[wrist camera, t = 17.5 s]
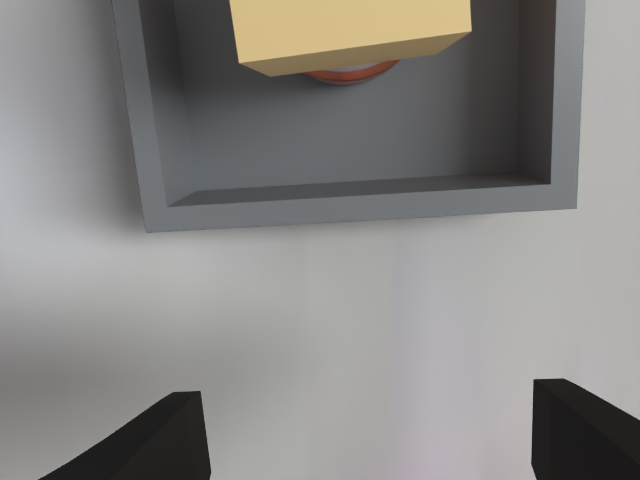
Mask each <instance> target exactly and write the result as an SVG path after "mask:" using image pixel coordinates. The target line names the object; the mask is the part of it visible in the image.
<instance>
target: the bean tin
mask: <svg viewBox="0 0 640 480" xmlns="http://www.w3.org/2000/svg"><path fill="white" fill-rule="evenodd" d="M400 60H401V59H399V60H392V61H385V62H377V63H370V64H362V65H355V66H347V67H340V68H332V69H325V70H318V71H310V72H303V73H304V74H306V75H307V76H309V77H311V78H313V79H315V80H317V81H320V82H323V83H327V84H332V85H356V84H361V83H364V82H368V81H370V80H373V79H375V78H377V77H379V76H381V75H382V74H384V73H386V72H387V71H388V70H390V69H391V68H392V67H394V66H395V65H396V64H397V63H398V62H399V61H400Z"/></svg>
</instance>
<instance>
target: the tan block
mask: <svg viewBox="0 0 640 480" xmlns="http://www.w3.org/2000/svg"><path fill="white" fill-rule="evenodd" d="M230 7H231V14H232V20H233V27H234V33H235V40H236V47H237V53H238V60H239V63H240V64H242V65H244V66H247V67H249V68H251V69H254V70H256V71H258V72H260V73H263V74H265V75H267V76H270V77H273V76H280V75H288V74H295V73H303V72H310V71H318V70H325V69H332V68H340V67H347V66H355V65H362V64H370V63H377V62H385V61H392V60H399V59H407V58H414V57H422V56H429V55H436V54H438V53H439V52H441V51H442V50H444V49H446V48H447V47H449V46H450V45H452V44H453V43H455V42H456V41H458V40H459V39H461V38H462V37H464V36H465V35H467V34H468V33H470V32H471V31H472V28H471V11H470V0H230Z"/></svg>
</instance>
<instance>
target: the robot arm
mask: <svg viewBox="0 0 640 480" xmlns="http://www.w3.org/2000/svg"><path fill="white" fill-rule="evenodd" d="M531 465H532V467H533V470H534V473H535V476H536V479H537V480H640V420H638V419H637V418H635V417H633V416H631V415H629V414H628V413H626V412H624V411H622V410H621V409H619V408H617V407H615V406H614V405H612V404H610V403H608V402H607V401H605V400H603V399H601V398H600V397H598V396H596V395H594V394H593V393H591V392H589V391H587V390H585V389H584V388H582V387H580V386H578V385H576V384H574V383H572V382H570V381H568V380H566V379H534V384H533V422H532V460H531ZM210 475H211V467H210V459H209V452H208V444H207V437H206V429H205V422H204V414H203V407H202V399H201V392H200V391H191V392H173V393H171V394H169V395H168V396H166V397H164V398H163V399H161V400H160V401H158V402H157V403H155V404H154V405H152V406H151V407H150V408H148V409H147V410H145V411H144V412H142V413H141V414H140V415H138V416H137V417H135V418H134V419H133V420H131V421H130V422H128V423H127V424H125V425H124V426H123V427H121V428H120V429H118V430H117V431H115V432H114V433H113V434H111V435H110V436H108V437H107V438H105V439H104V440H102V441H101V442H99V443H98V444H96V445H94V446H93V447H91V448H90V449H88V450H87V451H85V452H84V453H82V454H80V455H79V456H77V457H76V458H74V459H73V460H71V461H70V462H68V463H66V464H65V465H63V466H61V467H60V468H58V469H56V470H54V471H53V472H51V473H49V474H47V475H46V476H44V477H42V478H40V479H38V480H209V479H210Z"/></svg>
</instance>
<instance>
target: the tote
mask: <svg viewBox="0 0 640 480" xmlns="http://www.w3.org/2000/svg"><path fill="white" fill-rule="evenodd" d="M111 1H112V8H113V15H114V21H115V28H116V35H117V42H118V48H119V55H120V62H121V69H122V75H123V82H124V89H125V96H126V102H127V109H128V116H129V123H130V129H131V136H132V143H133V150H134V157H135V163H136V170H137V177H138V184H139V190H140V197H141V204H142V211H143V217H144V224H145V231H146V233H152V232H170V231H187V230H205V229H223V228H241V227H259V226H277V225H294V224H312V223H330V222H348V221H366V220H384V219H401V218H419V217H437V216H455V215H473V214H491V213H509V212H526V211H544V210H562V209H577V189H578V165H579V142H580V119H581V96H582V73H583V50H584V27H585V4H586V0H470V11H471V28H472V31H471V32H470V33H468V34H467V35H465V36H464V37H462V38H461V39H459V40H458V41H456V42H455V43H453V44H452V45H450V46H449V47H447V48H446V49H444V50H442V51H441V52H439V53H438V54H436V55H429V56H422V57H414V58H407V59H401V60H400V61H399V62H398V63H397V64H396V65H395V66H394V67H392V68H391V69H390V70H388V71H387V72H386V73H384V74H382V75H381V76H379V77H377V78H375V79H373V80H370V81H368V82H364V83H361V84H356V85H332V84H327V83H323V82H320V81H317V80H315V79H313V78H311V77H309V76H307V75H306V74H304V73H295V74H288V75H280V76H273V77H270V76H267V75H265V74H263V73H260V72H258V71H256V70H254V69H251V68H249V67H247V66H244V65H242V64H240V63H239V60H238V53H237V47H236V40H235V33H234V27H233V20H232V14H231V7H230V0H111Z"/></svg>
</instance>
